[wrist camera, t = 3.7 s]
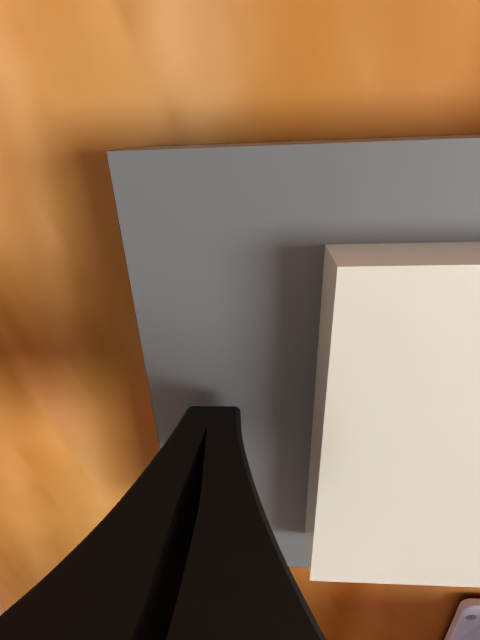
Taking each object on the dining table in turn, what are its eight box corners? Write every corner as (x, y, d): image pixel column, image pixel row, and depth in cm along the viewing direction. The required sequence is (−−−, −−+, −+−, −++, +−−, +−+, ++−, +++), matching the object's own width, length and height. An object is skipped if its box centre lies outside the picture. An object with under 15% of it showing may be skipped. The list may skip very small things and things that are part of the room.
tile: (519, 540, 12) (551, 590, 11) (304, 533, 13) (309, 580, 11) (669, 237, 8) (755, 260, 6) (325, 244, 8) (337, 266, 7)
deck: (573, 502, 15) (638, 580, 13) (193, 493, 16) (180, 563, 14) (785, 122, 9) (1002, 118, 6) (147, 146, 10) (106, 151, 7)
